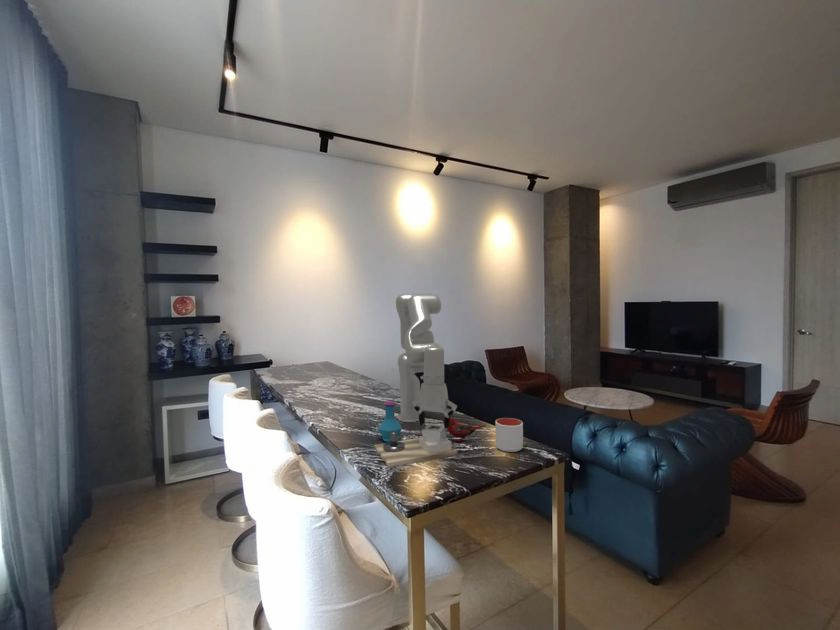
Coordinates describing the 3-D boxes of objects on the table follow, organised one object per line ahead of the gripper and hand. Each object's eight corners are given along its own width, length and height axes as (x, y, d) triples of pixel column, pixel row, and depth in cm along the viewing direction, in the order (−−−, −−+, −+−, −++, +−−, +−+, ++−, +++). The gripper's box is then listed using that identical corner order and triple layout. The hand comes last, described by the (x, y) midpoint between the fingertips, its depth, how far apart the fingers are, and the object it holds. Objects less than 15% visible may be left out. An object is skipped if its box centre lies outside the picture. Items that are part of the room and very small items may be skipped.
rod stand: (380, 445, 143) (380, 430, 142) (400, 442, 146) (400, 427, 145) (386, 453, 135) (386, 437, 135) (407, 450, 138) (407, 434, 138)
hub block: (419, 445, 143) (418, 427, 142) (440, 441, 146) (440, 423, 146) (428, 454, 134) (428, 434, 134) (451, 450, 138) (451, 431, 137)
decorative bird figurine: (441, 441, 151) (441, 416, 151) (485, 439, 153) (485, 414, 152) (442, 443, 148) (442, 418, 148) (487, 441, 150) (487, 416, 149)
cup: (509, 455, 136) (509, 427, 136) (490, 446, 144) (489, 420, 144) (528, 449, 141) (528, 422, 141) (509, 441, 150) (508, 416, 149)
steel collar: (422, 441, 138) (422, 429, 138) (429, 435, 145) (429, 423, 144) (440, 444, 135) (440, 431, 135) (446, 437, 142) (446, 425, 142)
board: (374, 448, 144) (373, 444, 144) (436, 438, 153) (436, 435, 153) (387, 467, 127) (387, 463, 127) (457, 455, 137) (457, 450, 137)
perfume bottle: (389, 444, 148) (389, 406, 148) (374, 439, 154) (373, 402, 154) (406, 438, 155) (405, 401, 154) (390, 433, 161) (390, 398, 161)
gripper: (408, 380, 139) (408, 425, 140) (453, 384, 133) (453, 432, 134) (416, 376, 146) (416, 419, 147) (459, 379, 140) (459, 425, 140)
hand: (434, 425), depth 140 cm, fingers open, 9 cm apart
